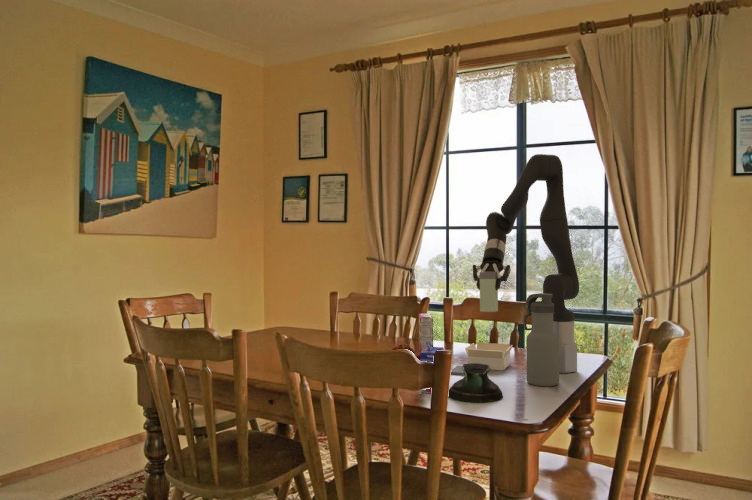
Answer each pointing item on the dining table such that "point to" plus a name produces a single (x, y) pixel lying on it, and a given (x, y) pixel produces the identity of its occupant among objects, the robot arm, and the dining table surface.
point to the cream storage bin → (490, 355)
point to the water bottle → (541, 342)
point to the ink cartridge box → (428, 357)
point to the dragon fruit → (403, 347)
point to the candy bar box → (425, 330)
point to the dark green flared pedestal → (475, 386)
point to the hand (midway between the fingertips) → (487, 288)
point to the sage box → (488, 292)
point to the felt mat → (457, 370)
